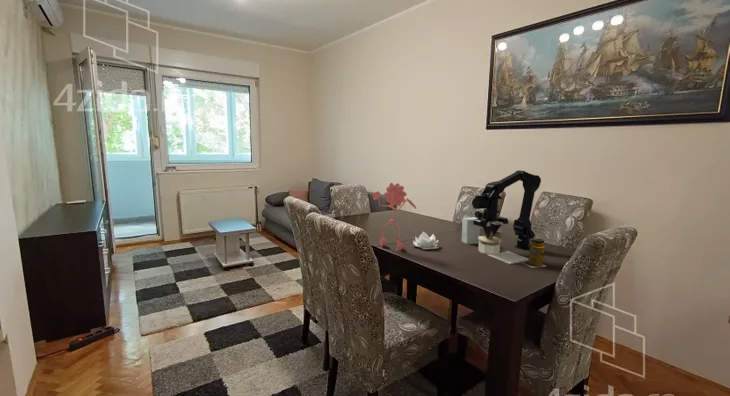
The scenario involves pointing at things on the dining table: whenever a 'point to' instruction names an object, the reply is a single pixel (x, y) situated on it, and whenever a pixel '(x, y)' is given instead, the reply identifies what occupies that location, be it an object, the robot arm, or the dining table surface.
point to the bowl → (489, 248)
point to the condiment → (536, 254)
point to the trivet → (509, 257)
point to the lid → (490, 239)
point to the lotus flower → (426, 241)
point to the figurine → (393, 197)
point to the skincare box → (470, 231)
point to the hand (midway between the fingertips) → (489, 237)
